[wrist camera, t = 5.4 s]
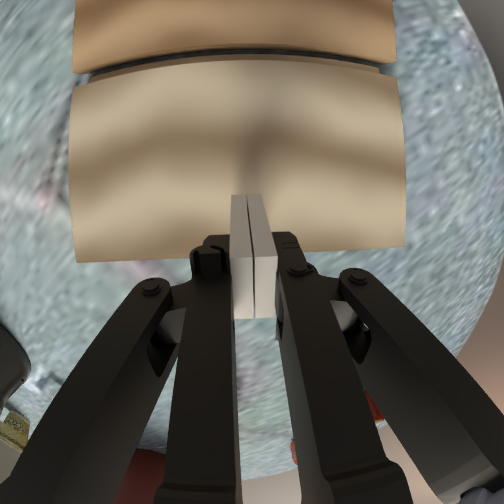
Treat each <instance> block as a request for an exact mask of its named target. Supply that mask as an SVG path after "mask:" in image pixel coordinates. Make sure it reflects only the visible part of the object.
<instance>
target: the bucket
mask: <svg viewBox="0 0 504 504" xmlns="http://www.w3.org/2000/svg"><path fill="white" fill-rule="evenodd" d="M165 462H166V455H164V454H161V453H158V452H155V451H152V450H144V449H136V450H135V452H134V455H133V457H132V459H131V461H130V464H129V466H128V468H127V471H126V473H125V475H124V478H123V480H122V483H121V485H120V487H119V490H118V492H117V495H116V497H115V499H114V502H113V504H153V501H154V495H155V492H156V489H157V487H158V486H159V485H160V484H161V483H162V482H163V479H164V473H165Z"/></svg>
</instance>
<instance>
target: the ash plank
mask: <svg viewBox="0 0 504 504" xmlns="http://www.w3.org/2000/svg"><path fill="white" fill-rule="evenodd" d="M242 194H245V196H246V205H247V194H261V196H262V200H263V204H264V207H265V211H266V214H267V218H268V222H269V225H270V229H271V232H282V231H290V232H291V233H292V234H294V235H295V236H296V238H297V240H298V243H299V245H300V248H301V249H302V252H321V251H341V250H360V249H380V248H399V247H404V244H405V225H406V165H405V147H404V134H403V124H402V114H401V106H400V99H399V92H398V86H397V80H396V77H392V76H388V75H383V74H380V72H379V68H377V67H372V66H368V65H363V64H357V63H352V62H346V61H339V60H332V59H325V58H316V57H306V56H294V55H276V54H229V55H211V56H199V57H189V58H180V59H172V60H166V61H159V62H153V63H148V64H142V65H137V66H132V67H128V68H123V69H119V70H115V71H111V72H107V73H103V74H100V75H96V76H93V77H90V81H89V84H85V85H82V86H79V87H76V88H73V93H72V102H71V113H70V127H69V195H70V210H71V222H72V231H73V240H74V247H75V254H76V261H77V263H87V262H110V261H132V260H154V259H176V258H190V257H189V254H190V252H191V250H193V249H194V248H196V247H198V246H201V245H203V241H204V240H205V239H206V238H207V237H208V236H209V235H222V234H230V215H231V195H242Z"/></svg>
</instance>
